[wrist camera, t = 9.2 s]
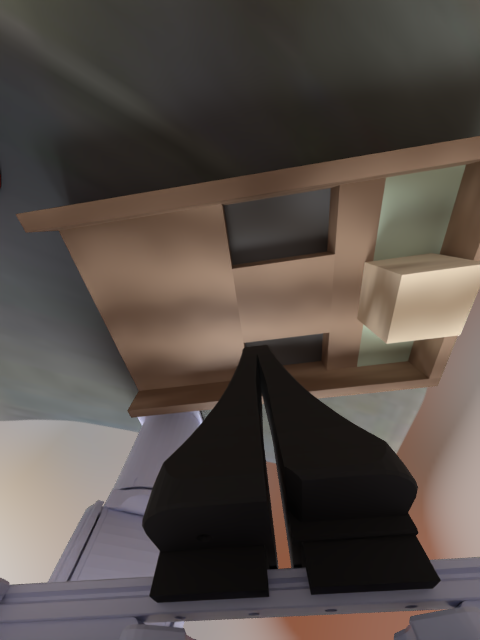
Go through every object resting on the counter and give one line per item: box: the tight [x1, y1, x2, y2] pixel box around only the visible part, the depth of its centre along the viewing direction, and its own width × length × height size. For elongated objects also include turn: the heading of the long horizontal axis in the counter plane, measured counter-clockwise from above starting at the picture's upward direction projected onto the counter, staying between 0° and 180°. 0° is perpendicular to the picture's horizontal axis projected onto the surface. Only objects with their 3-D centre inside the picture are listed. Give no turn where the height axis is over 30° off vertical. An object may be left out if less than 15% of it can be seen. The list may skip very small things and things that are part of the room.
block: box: [357, 253, 480, 344], centre depth 15 cm, size 5×5×4 cm
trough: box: [16, 136, 480, 418], centre depth 17 cm, size 18×29×4 cm, turn 98°
